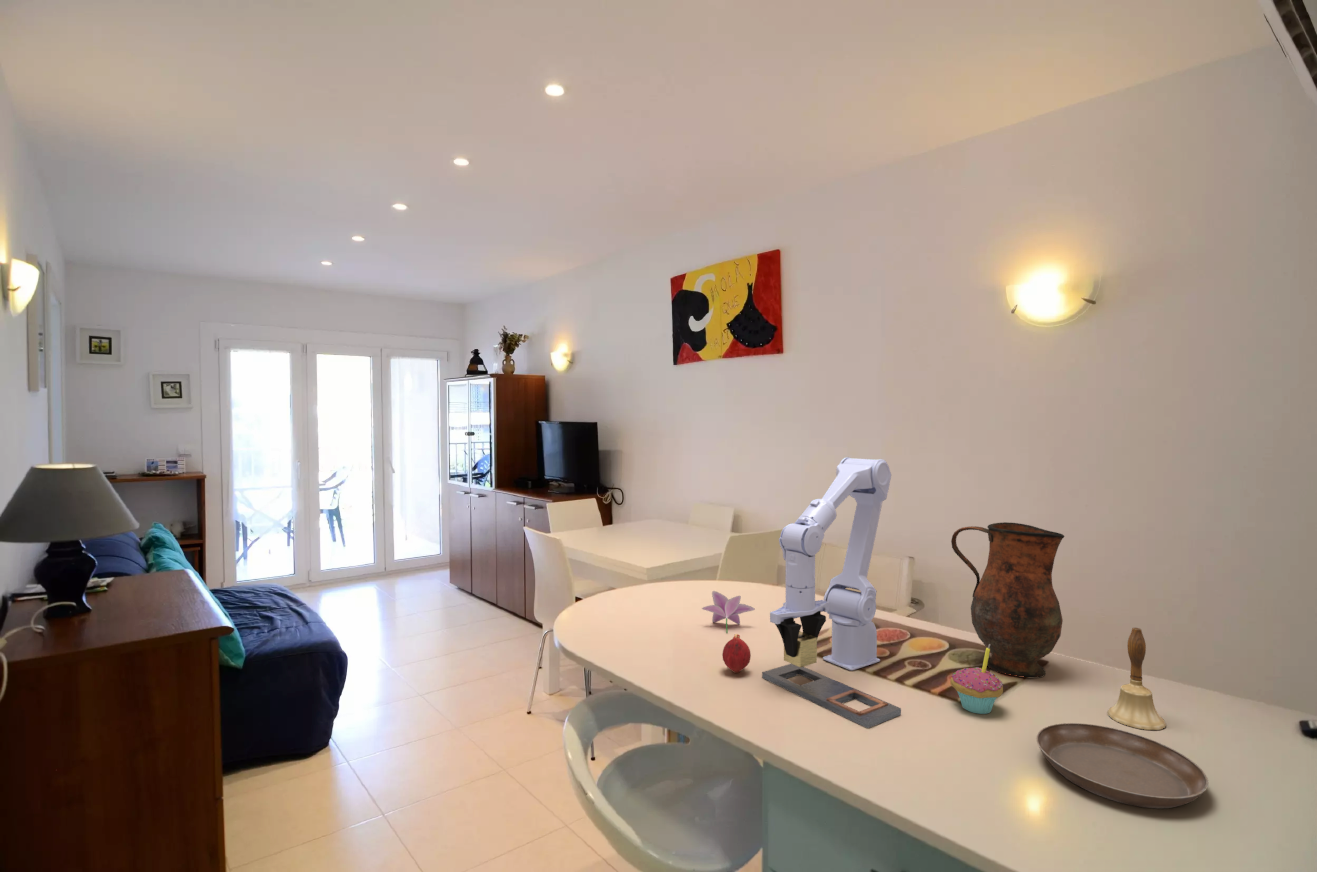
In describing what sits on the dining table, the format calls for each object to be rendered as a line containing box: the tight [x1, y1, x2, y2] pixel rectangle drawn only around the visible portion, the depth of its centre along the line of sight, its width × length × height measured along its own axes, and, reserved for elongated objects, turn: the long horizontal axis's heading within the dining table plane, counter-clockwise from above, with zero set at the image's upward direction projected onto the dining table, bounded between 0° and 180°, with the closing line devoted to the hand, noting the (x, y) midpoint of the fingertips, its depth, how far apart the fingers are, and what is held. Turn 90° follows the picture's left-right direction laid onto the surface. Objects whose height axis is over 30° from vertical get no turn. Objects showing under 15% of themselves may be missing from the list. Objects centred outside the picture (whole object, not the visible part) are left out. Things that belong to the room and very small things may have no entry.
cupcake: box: [949, 644, 1004, 715], centre depth 119 cm, size 9×8×12 cm
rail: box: [761, 663, 902, 729], centre depth 125 cm, size 9×26×1 cm, turn 34°
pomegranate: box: [721, 633, 752, 674], centre depth 136 cm, size 6×6×8 cm
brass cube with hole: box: [783, 631, 818, 667], centre depth 131 cm, size 4×4×5 cm
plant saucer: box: [1035, 722, 1209, 809], centre depth 97 cm, size 21×21×3 cm
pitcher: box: [950, 521, 1065, 678], centre depth 139 cm, size 17×21×30 cm
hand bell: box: [1106, 627, 1167, 731], centre depth 115 cm, size 8×8×16 cm
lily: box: [701, 590, 756, 634], centre depth 164 cm, size 12×12×10 cm
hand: (800, 652), depth 131 cm, fingers closed on brass cube with hole, 4 cm apart
